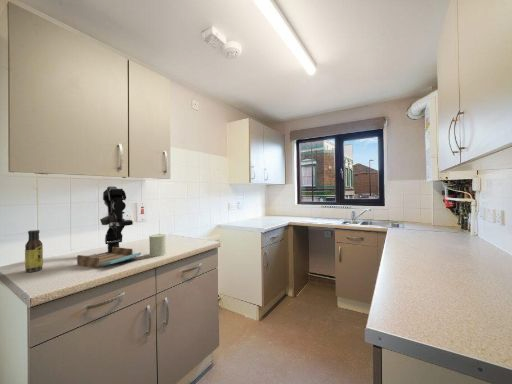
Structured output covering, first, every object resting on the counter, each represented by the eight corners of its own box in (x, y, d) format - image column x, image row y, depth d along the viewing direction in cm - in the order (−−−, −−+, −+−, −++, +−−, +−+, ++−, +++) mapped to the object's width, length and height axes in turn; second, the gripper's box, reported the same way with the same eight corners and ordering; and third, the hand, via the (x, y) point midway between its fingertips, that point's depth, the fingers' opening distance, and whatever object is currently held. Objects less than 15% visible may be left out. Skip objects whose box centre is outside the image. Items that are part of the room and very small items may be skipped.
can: (168, 252, 142) (168, 233, 142) (161, 256, 133) (160, 236, 133) (154, 252, 143) (154, 233, 143) (146, 256, 134) (145, 236, 134)
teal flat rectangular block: (100, 263, 115) (110, 261, 112) (130, 254, 131) (140, 252, 128) (100, 266, 115) (111, 264, 112) (131, 257, 131) (141, 255, 128)
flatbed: (77, 265, 120) (77, 255, 120) (113, 255, 139) (113, 246, 139) (97, 268, 114) (97, 258, 114) (132, 257, 133) (132, 248, 133)
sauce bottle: (41, 271, 112) (40, 230, 112) (23, 273, 108) (22, 231, 108) (44, 267, 117) (43, 228, 117) (27, 270, 114) (26, 230, 114)
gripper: (91, 211, 128) (92, 239, 128) (114, 211, 121) (115, 241, 121) (111, 209, 138) (111, 235, 138) (133, 210, 131) (133, 237, 131)
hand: (117, 237), depth 132 cm, fingers closed
